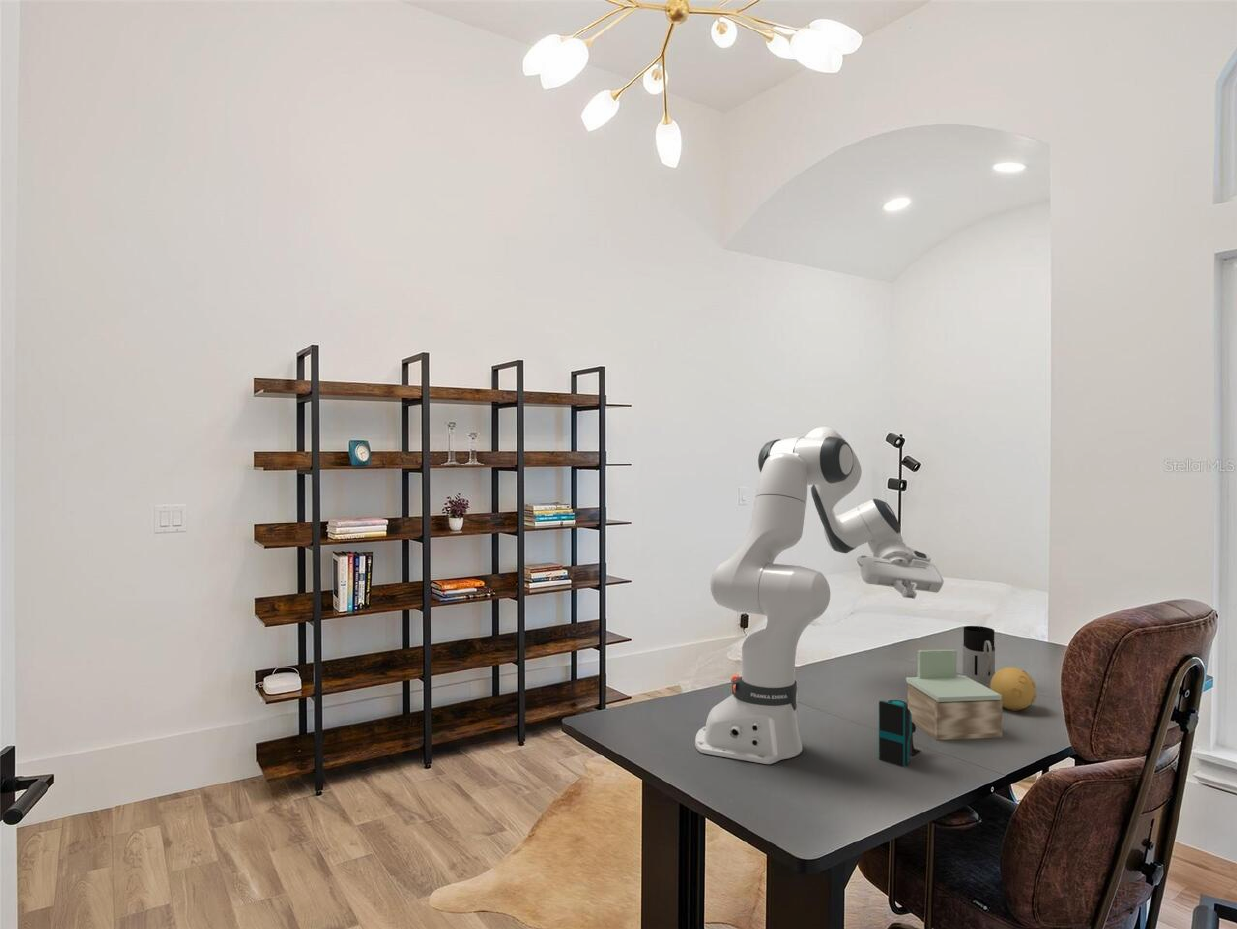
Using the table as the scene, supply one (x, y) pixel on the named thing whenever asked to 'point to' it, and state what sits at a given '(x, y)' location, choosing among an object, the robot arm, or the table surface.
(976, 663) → the glass holder
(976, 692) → the lid
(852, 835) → the table surface
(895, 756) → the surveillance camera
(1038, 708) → the table surface
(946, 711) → the wooden box
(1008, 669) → the stress ball
